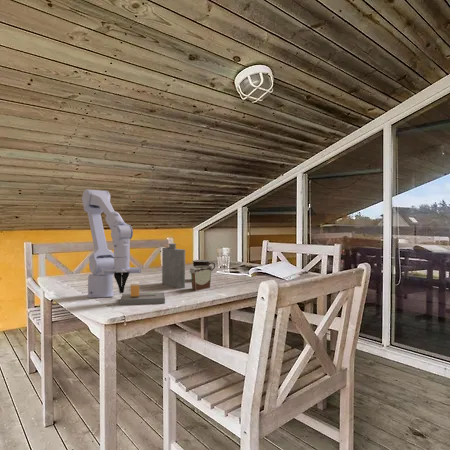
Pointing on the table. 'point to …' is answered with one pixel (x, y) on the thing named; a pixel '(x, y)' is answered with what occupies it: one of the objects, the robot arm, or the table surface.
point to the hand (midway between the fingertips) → (121, 292)
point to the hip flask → (173, 266)
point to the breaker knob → (134, 288)
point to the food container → (200, 277)
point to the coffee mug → (202, 263)
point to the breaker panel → (143, 299)
